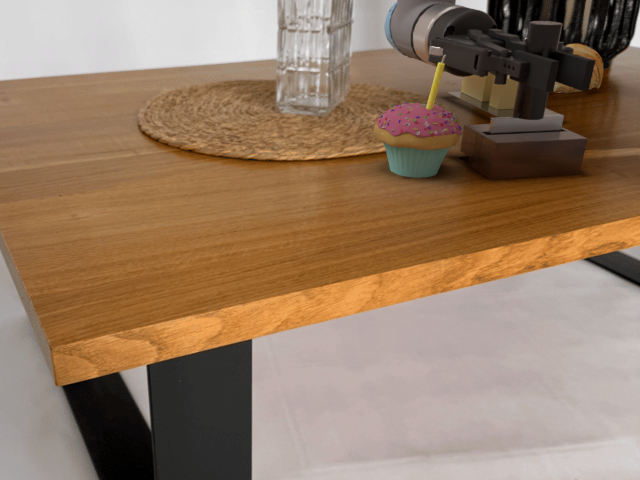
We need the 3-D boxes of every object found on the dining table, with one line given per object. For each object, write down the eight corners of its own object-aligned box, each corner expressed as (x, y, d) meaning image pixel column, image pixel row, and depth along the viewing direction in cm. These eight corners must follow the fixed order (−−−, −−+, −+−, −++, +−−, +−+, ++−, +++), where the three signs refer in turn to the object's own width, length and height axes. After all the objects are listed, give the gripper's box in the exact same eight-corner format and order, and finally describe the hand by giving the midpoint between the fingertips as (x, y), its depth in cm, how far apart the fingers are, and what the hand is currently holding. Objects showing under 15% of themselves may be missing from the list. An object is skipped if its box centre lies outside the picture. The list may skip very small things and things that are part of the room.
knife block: (541, 156, 77) (548, 121, 75) (578, 176, 71) (588, 138, 69) (458, 161, 75) (464, 124, 73) (490, 182, 69) (496, 143, 67)
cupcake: (470, 173, 71) (489, 52, 66) (423, 192, 66) (440, 63, 60) (401, 155, 77) (414, 42, 71) (353, 171, 71) (363, 51, 66)
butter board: (445, 100, 102) (450, 63, 99) (500, 98, 103) (507, 62, 101) (499, 128, 88) (507, 86, 85) (562, 125, 89) (572, 84, 87)
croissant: (574, 126, 102) (614, 80, 97) (518, 88, 103) (554, 40, 98) (583, 95, 119) (617, 55, 114) (534, 63, 120) (566, 21, 115)
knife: (544, 157, 75) (573, 20, 68) (561, 166, 72) (592, 24, 65) (477, 161, 73) (499, 21, 67) (491, 170, 71) (516, 25, 64)
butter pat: (488, 105, 94) (493, 75, 92) (522, 104, 94) (527, 74, 93) (498, 109, 91) (503, 78, 90) (532, 108, 92) (538, 77, 90)
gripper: (510, 69, 87) (636, 113, 66) (390, 73, 84) (483, 120, 63) (521, 5, 83) (658, 31, 63) (396, 7, 80) (497, 34, 60)
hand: (570, 76), depth 63 cm, fingers closed on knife, 3 cm apart
